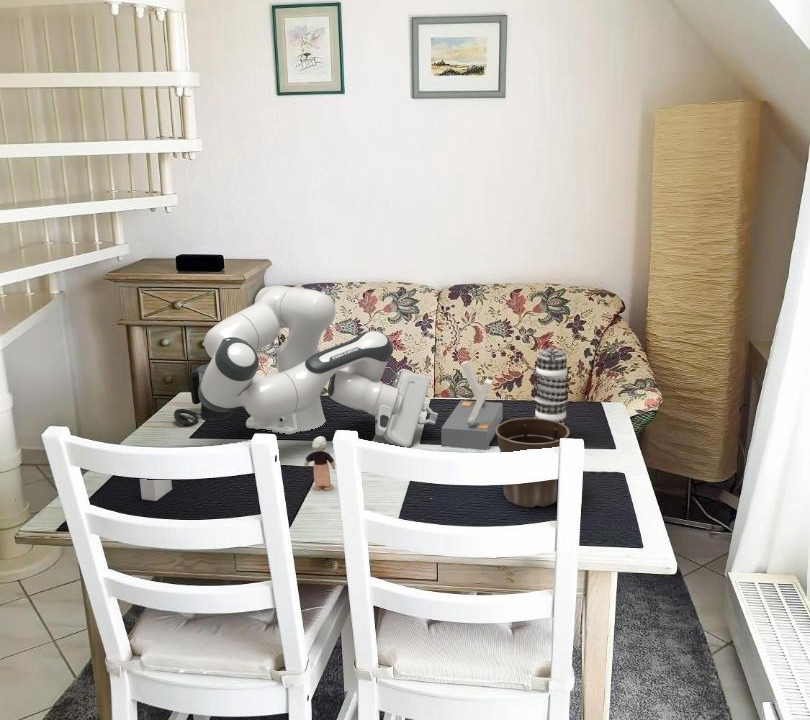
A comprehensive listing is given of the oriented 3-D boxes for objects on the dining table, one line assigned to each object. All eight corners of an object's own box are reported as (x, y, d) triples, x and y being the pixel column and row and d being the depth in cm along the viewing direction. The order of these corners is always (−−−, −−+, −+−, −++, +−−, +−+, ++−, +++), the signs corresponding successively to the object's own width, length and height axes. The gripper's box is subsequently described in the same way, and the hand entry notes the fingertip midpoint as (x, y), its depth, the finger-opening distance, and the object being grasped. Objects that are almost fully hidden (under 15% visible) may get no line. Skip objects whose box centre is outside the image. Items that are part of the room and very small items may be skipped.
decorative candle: (532, 435, 236) (534, 345, 229) (567, 436, 234) (570, 345, 228) (531, 447, 227) (533, 354, 221) (567, 448, 226) (570, 355, 219)
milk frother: (238, 412, 259) (235, 364, 256) (214, 430, 245) (210, 379, 241) (195, 409, 263) (191, 361, 259) (168, 426, 248) (163, 376, 244)
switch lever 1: (477, 406, 243) (459, 365, 242) (480, 402, 247) (462, 362, 245) (484, 404, 242) (466, 363, 241) (487, 400, 246) (469, 359, 245)
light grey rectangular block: (172, 489, 206) (168, 449, 203) (155, 500, 199) (151, 459, 197) (158, 487, 207) (154, 447, 204) (141, 499, 200) (137, 458, 198)
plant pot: (552, 518, 187) (554, 447, 182) (483, 504, 194) (483, 435, 190) (577, 490, 200) (579, 424, 196) (511, 478, 208) (512, 413, 204)
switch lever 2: (465, 424, 227) (483, 381, 223) (468, 419, 231) (486, 377, 227) (472, 427, 227) (490, 385, 223) (475, 422, 231) (493, 380, 226)
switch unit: (441, 446, 229) (441, 427, 228) (460, 416, 251) (460, 399, 250) (486, 449, 226) (486, 430, 224) (502, 419, 248) (502, 402, 247)
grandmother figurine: (338, 484, 206) (336, 433, 203) (337, 491, 203) (334, 439, 199) (306, 484, 206) (303, 434, 203) (303, 491, 203) (301, 439, 199)
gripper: (396, 369, 238) (444, 386, 239) (374, 440, 232) (423, 456, 233) (400, 363, 232) (449, 380, 233) (377, 435, 226) (427, 452, 227)
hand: (436, 419), depth 233 cm, fingers closed
